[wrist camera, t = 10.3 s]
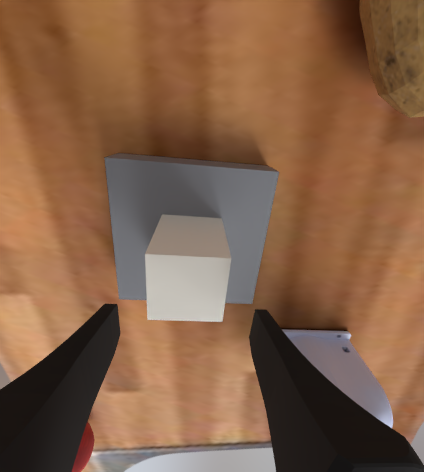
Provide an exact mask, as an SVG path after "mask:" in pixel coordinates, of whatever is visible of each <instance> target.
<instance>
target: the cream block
mask: <svg viewBox="0 0 424 472" xmlns="http://www.w3.org/2000/svg"><path fill="white" fill-rule="evenodd" d="M230 265H231V255H230V251H229V246H228V242H227V238H226V234H225V230H224V226H223V222H222V218H210V217H195V216H180V215H164V214H162V216H161V218H160V220H159V223H158V225H157V227H156V230H155V232H154V234H153V237H152V239H151V241H150V244H149V246H148V248H147V250H146V253H145V267H146V293H147V319H148V320H175V321H209V322H222V321H223V314H224V307H225V300H226V293H227V286H228V279H229V272H230Z"/></svg>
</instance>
